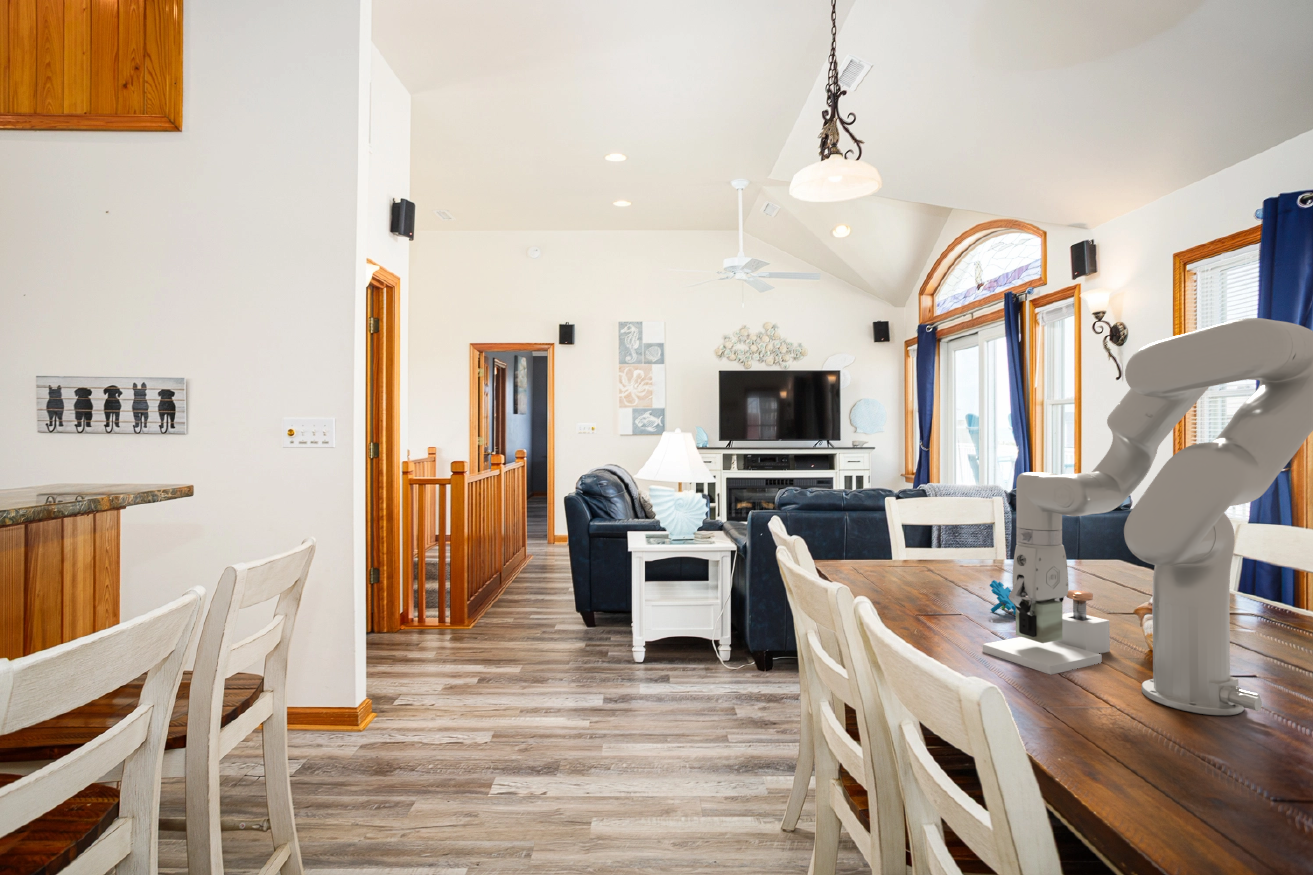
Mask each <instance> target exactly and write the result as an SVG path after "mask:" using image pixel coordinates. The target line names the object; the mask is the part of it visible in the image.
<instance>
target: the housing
mask: <svg viewBox="0 0 1313 875" xmlns="http://www.w3.org/2000/svg"><path fill="white" fill-rule="evenodd" d="M1029 602H1030V601H1027V600H1026V601H1025V603H1026V604H1027V605H1028V606H1029ZM1062 614H1063V602H1059V601H1054V600H1045V601H1037V602H1036V607H1035V611H1034V615H1035V616H1036V637H1031V636H1028V635H1024V634H1021V633H1020V632H1019V612H1017V608H1016V615H1015V636H1018V637H1024V638H1027V639H1030V640H1033V641H1037V642H1040V643H1047V642H1052V641H1057V640H1062Z"/></svg>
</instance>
